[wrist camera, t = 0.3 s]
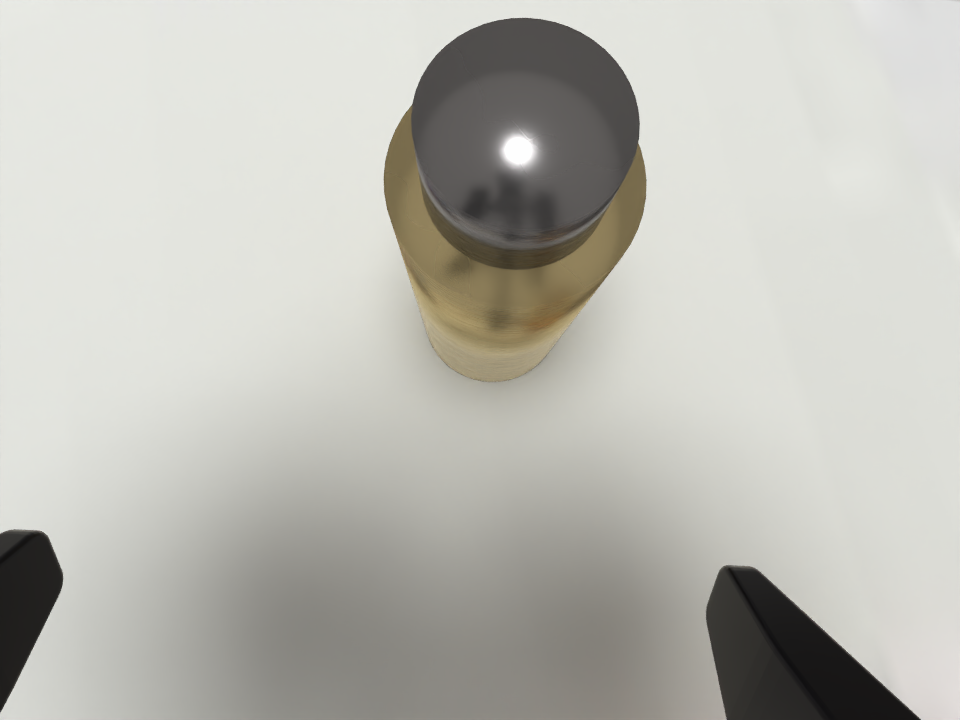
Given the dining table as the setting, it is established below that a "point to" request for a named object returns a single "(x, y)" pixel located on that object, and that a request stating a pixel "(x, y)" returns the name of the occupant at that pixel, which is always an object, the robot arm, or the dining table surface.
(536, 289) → the gold two-tone capped cylinder
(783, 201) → the dining table surface
